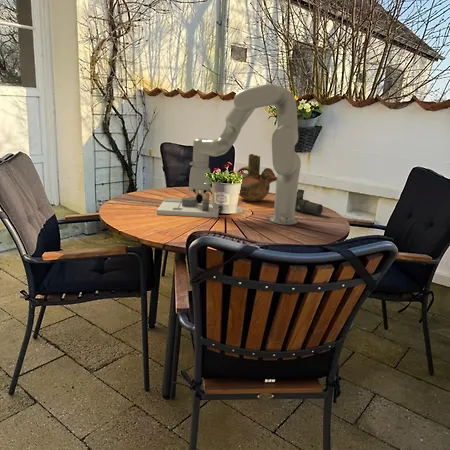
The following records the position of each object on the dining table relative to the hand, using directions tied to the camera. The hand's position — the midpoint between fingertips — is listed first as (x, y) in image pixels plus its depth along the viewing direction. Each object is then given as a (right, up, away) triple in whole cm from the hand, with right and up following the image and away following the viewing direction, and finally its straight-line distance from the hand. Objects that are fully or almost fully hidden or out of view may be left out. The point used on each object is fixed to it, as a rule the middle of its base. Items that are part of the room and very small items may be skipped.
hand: (199, 202), depth 205 cm
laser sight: (+50, -4, +8) cm, 51 cm away
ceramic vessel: (+28, +2, +26) cm, 38 cm away
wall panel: (-4, -3, -1) cm, 6 cm away
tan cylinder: (+3, -4, -9) cm, 11 cm away
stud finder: (-5, -1, 0) cm, 5 cm away
